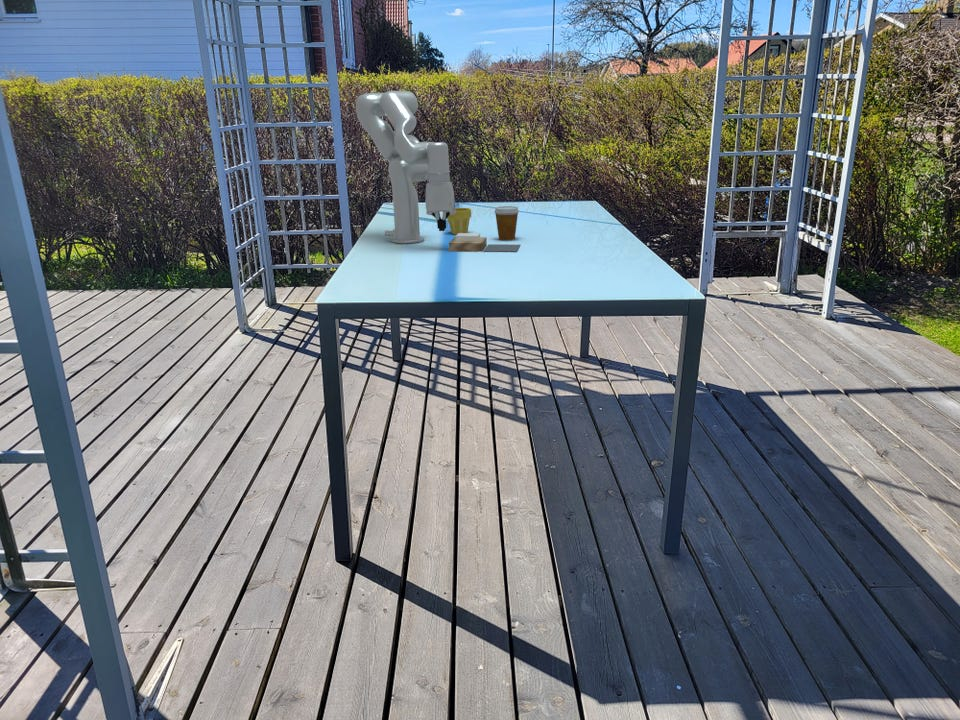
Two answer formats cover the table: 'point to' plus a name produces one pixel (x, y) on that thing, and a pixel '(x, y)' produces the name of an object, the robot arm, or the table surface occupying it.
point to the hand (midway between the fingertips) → (442, 230)
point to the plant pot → (459, 220)
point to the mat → (501, 248)
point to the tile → (468, 237)
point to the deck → (468, 245)
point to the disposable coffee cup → (506, 222)
